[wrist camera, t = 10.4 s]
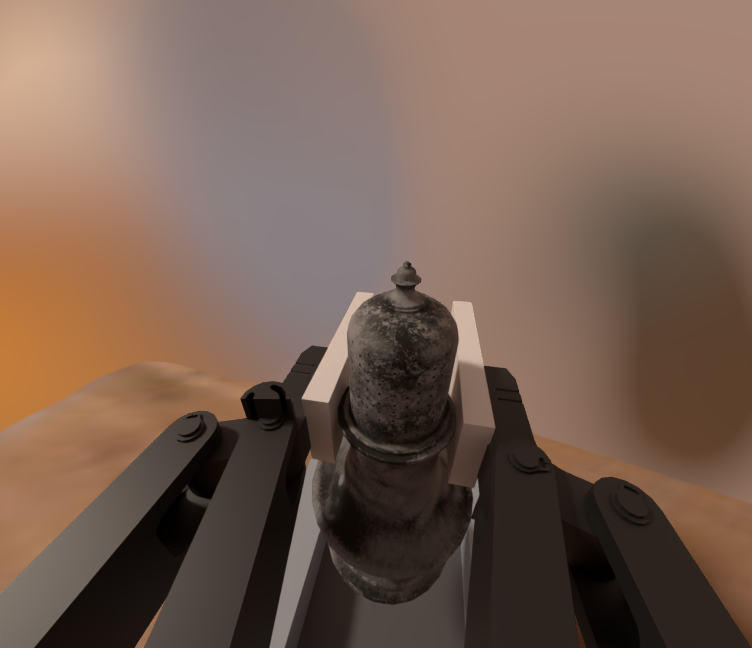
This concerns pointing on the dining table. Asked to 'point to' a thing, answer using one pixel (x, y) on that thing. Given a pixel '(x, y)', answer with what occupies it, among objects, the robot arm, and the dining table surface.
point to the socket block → (356, 613)
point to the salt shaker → (394, 449)
